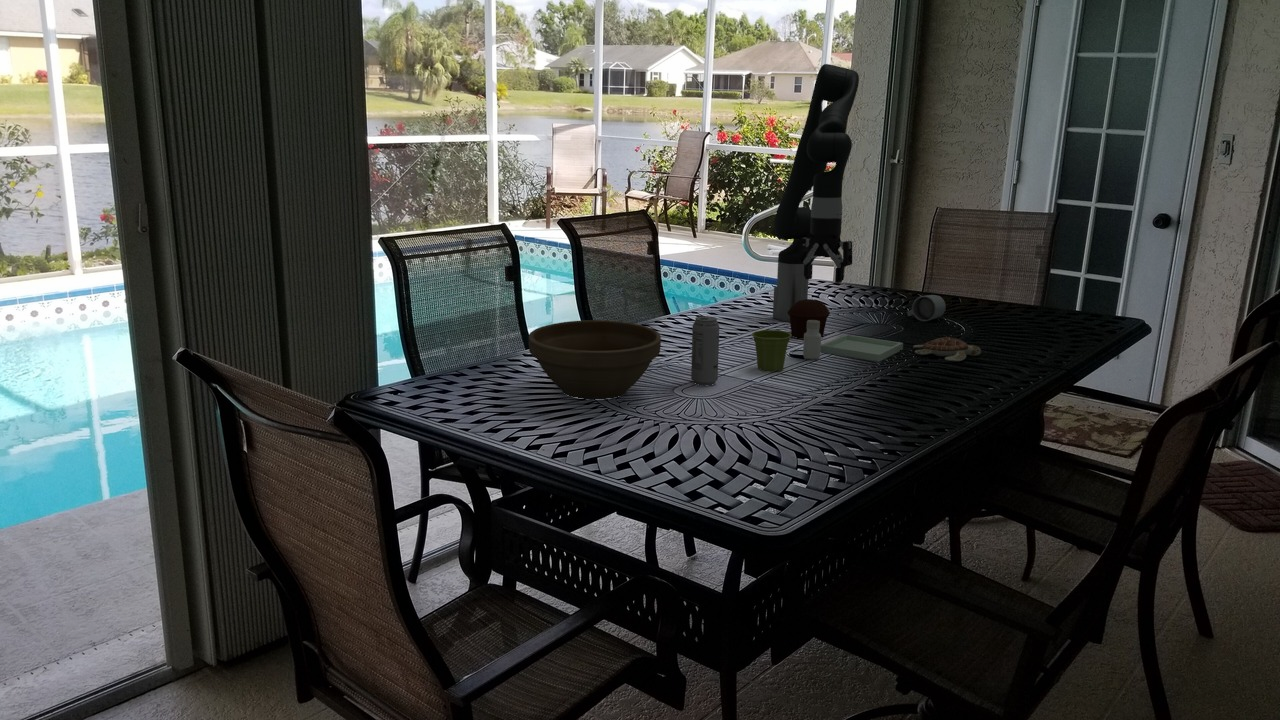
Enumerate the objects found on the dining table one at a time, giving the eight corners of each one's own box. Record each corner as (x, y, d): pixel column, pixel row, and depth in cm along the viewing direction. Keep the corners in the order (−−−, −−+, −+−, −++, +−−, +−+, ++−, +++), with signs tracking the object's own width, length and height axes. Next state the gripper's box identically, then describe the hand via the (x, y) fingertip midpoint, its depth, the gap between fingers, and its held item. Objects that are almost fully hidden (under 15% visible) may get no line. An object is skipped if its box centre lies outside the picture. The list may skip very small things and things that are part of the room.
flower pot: (677, 406, 196) (678, 344, 193) (543, 416, 189) (542, 353, 185) (638, 371, 223) (639, 316, 219) (519, 379, 215) (518, 323, 212)
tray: (819, 352, 243) (820, 345, 242) (845, 340, 255) (846, 334, 255) (878, 361, 233) (879, 354, 233) (902, 349, 246) (903, 343, 245)
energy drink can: (720, 386, 211) (722, 320, 207) (694, 387, 210) (696, 321, 206) (714, 378, 217) (716, 315, 213) (688, 379, 216) (690, 316, 212)
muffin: (800, 342, 253) (802, 305, 251) (778, 333, 263) (780, 298, 261) (837, 338, 258) (839, 302, 255) (814, 329, 268) (815, 295, 265)
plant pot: (746, 372, 223) (747, 336, 221) (755, 362, 232) (757, 328, 229) (785, 376, 220) (787, 340, 218) (793, 366, 228) (795, 331, 226)
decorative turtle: (985, 367, 231) (987, 347, 230) (916, 363, 234) (917, 343, 233) (975, 350, 248) (977, 331, 247) (910, 346, 252) (912, 328, 250)
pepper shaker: (802, 355, 239) (804, 319, 236) (818, 356, 238) (820, 319, 236) (803, 359, 235) (805, 322, 232) (820, 360, 234) (822, 323, 232)
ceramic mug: (946, 319, 284) (948, 294, 282) (934, 323, 278) (936, 297, 276) (913, 314, 291) (915, 290, 289) (901, 318, 285) (903, 293, 283)
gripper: (793, 215, 233) (791, 279, 237) (844, 218, 224) (841, 285, 228) (809, 213, 239) (806, 276, 243) (859, 216, 230) (856, 282, 233)
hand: (823, 280), depth 235 cm, fingers open, 8 cm apart
